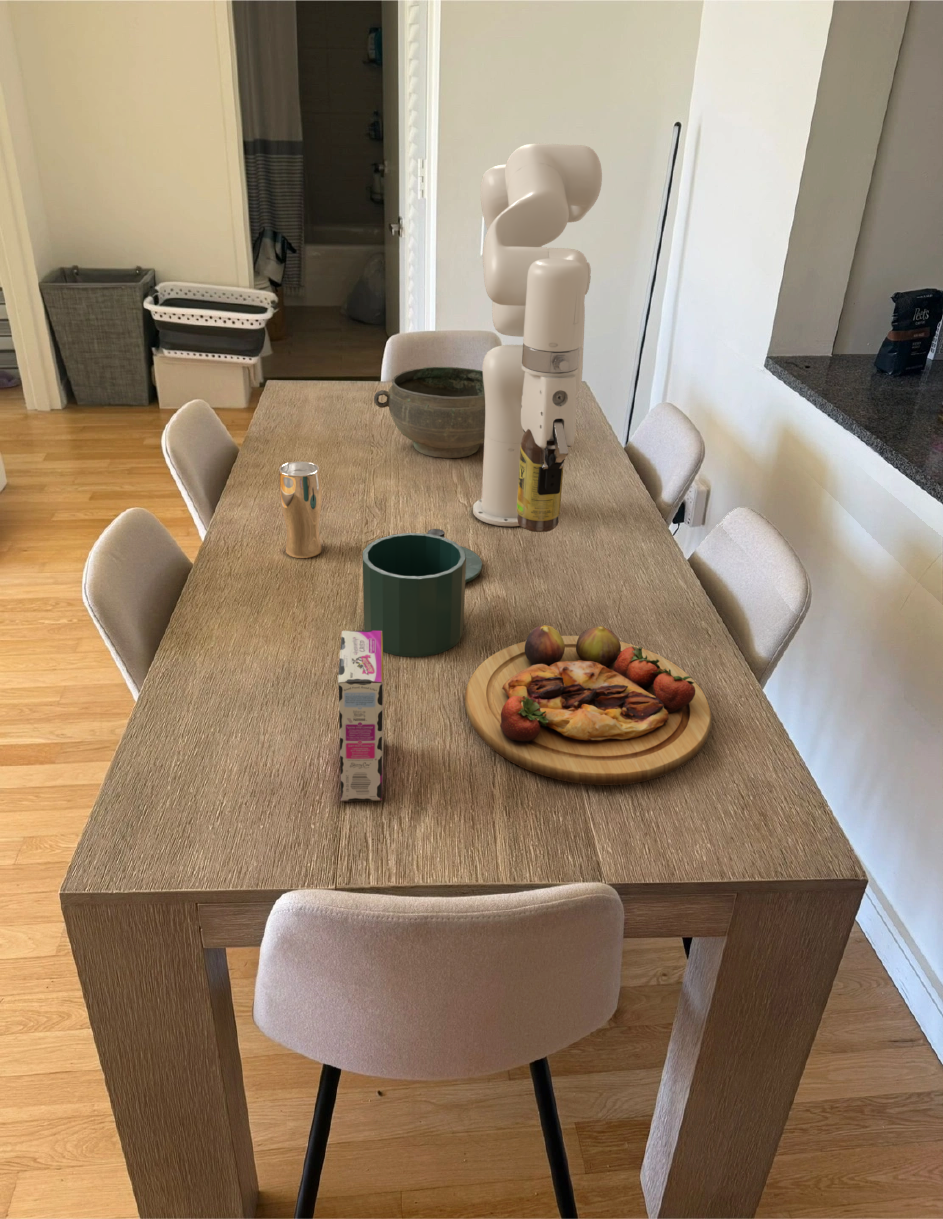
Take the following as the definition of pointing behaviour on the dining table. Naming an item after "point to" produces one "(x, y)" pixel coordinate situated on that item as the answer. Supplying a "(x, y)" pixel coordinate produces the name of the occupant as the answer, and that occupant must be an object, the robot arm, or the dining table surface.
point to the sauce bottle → (535, 490)
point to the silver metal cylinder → (301, 507)
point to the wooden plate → (587, 708)
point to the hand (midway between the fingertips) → (540, 482)
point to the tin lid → (471, 558)
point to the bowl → (438, 409)
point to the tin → (414, 593)
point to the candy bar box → (361, 715)
